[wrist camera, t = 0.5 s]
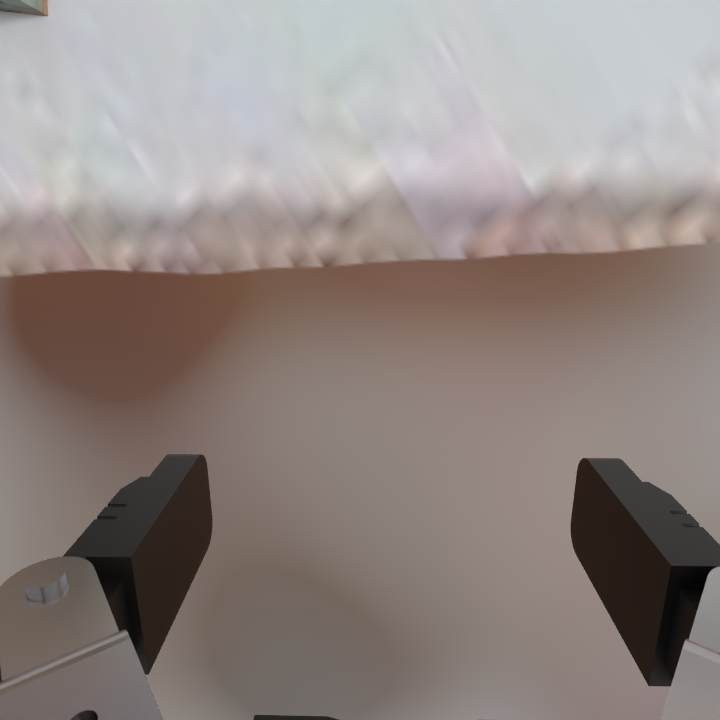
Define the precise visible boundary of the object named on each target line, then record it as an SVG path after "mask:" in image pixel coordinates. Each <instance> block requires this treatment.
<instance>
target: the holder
mask: <svg viewBox="0 0 720 720" xmlns="http://www.w3.org/2000/svg"><path fill="white" fill-rule="evenodd" d="M0 11H9V12H18V13H27V14H36V15H45V16H48V12H47V0H0Z"/></svg>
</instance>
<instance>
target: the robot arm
mask: <svg viewBox="0 0 720 720" xmlns="http://www.w3.org/2000/svg"><path fill="white" fill-rule="evenodd" d="M211 534H212V510H211V500H210V490H209V479H208V469H207V463H206V459H205V457H204V456H203V455H192V454H188V455H187V454H180V455H179V454H168V455H166V456H165V458H164V459H163V460H162V461H161V463H160V464H159V465H158V466H157V468H156V469H155V470H154V471H153V473H152V474H151V475H150V476H149V477H140V478H138V479H137V480H135V481H133V482H132V483H130V484H128V485H127V486H125V487H124V488H122V489H121V490H120V491H119V492H118V493H117V494H116V496H114V498H113V499H112V500H111V501H110V502H109V503H108V507H105V508H104V509H103V510H102V512H101V513H100V514H99V515H98V517H97V519H96V520H94V521H93V522H92V523H91V524H90V526H89V527H88V528H87V529H86V530H85V531H84V533H83V534H82V535H81V536H80V537H79V538H78V539H77V541H76V542H75V543H74V544H73V545H72V547H71V548H70V549H69V550H68V551H67V552H66V554H65V555H64V556H63V557H57V558H52V559H47V560H44V561H41V562H38V563H35V564H32V565H30V566H28V567H26V568H24V569H22V570H21V571H19V572H17V573H15V574H14V575H13V576H11V577H10V578H9V579H7V580H6V581H5V582H4V583H3V584H2V585H1V586H0V720H164V719H163V717H162V715H161V712H160V709H159V707H158V705H157V702H156V700H155V697H154V695H153V692H152V690H151V688H150V685H149V683H148V680H147V678H146V675H145V674H149V672H150V670H151V668H152V666H153V664H154V662H155V660H156V658H157V655H158V653H159V651H160V649H161V647H162V645H163V643H164V641H165V639H166V636H167V634H168V632H169V630H170V628H171V626H172V624H173V622H174V619H175V617H176V615H177V613H178V611H179V609H180V607H181V605H182V602H183V600H184V598H185V596H186V594H187V592H188V590H189V588H190V585H191V583H192V581H193V579H194V577H195V575H196V573H197V571H198V568H199V566H200V564H201V562H202V560H203V558H204V556H205V554H206V552H207V549H208V547H209V544H210V540H211ZM571 538H572V543H573V547H574V550H575V553H576V555H577V557H578V559H579V561H580V562H581V564H582V566H583V567H584V570H585V571H586V573H587V575H588V577H589V579H590V581H591V582H592V584H593V586H594V588H595V589H596V591H597V593H598V595H599V597H600V599H601V600H602V602H603V604H604V606H605V608H606V609H607V611H608V613H609V615H610V617H611V619H612V620H613V622H614V624H615V626H616V627H617V629H618V631H619V633H620V635H621V637H622V638H623V640H624V642H625V644H626V646H627V647H628V649H629V651H630V653H631V655H632V657H633V658H634V660H635V662H636V664H637V666H638V667H639V669H640V671H641V673H642V674H643V677H644V678H645V680H646V682H647V683H648V686H671V688H670V691H669V694H668V698H667V701H666V704H665V707H664V710H663V714H662V717H661V720H720V545H719V544H718V543H717V542H716V541H715V540H714V539H713V538H712V536H710V535H709V533H708V532H707V531H706V530H705V529H704V528H703V527H699V523H698V522H697V521H696V520H695V519H694V518H693V517H692V516H691V515H690V514H687V511H686V510H685V509H684V508H683V507H682V506H681V505H680V504H679V503H678V502H677V501H676V500H675V499H674V497H672V496H671V495H670V494H668V493H666V492H665V491H663V490H661V489H660V488H658V487H656V486H654V485H653V484H651V483H649V482H642V481H641V480H640V479H639V478H638V477H637V476H636V475H635V473H633V471H632V470H631V469H630V468H629V467H628V466H627V465H626V464H625V463H624V462H623V461H622V460H621V459H618V458H617V459H616V458H611V459H610V458H583V459H582V460H581V461H580V463H579V465H578V470H577V476H576V485H575V493H574V502H573V510H572V518H571ZM254 720H338V719H334V718H331V717H325V716H278V715H255V716H254Z"/></svg>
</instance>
